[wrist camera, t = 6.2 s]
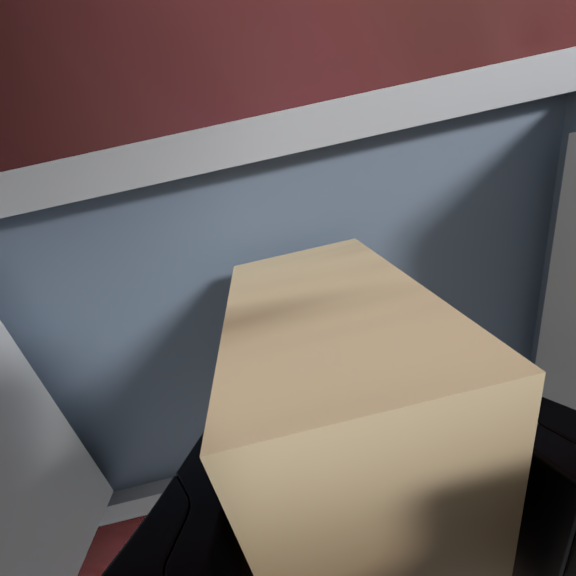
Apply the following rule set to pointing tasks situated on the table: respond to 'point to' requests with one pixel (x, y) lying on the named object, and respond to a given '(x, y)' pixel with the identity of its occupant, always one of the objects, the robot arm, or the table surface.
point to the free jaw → (42, 477)
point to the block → (366, 423)
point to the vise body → (286, 243)
